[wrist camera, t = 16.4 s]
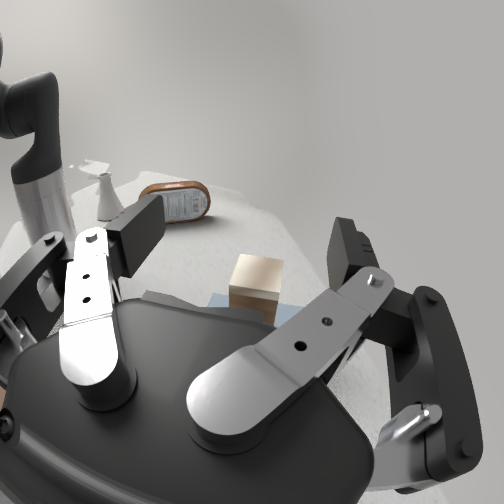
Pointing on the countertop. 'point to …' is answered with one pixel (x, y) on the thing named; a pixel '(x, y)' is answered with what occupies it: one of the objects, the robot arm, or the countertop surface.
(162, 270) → the countertop surface
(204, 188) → the tin
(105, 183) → the flask
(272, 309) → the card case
